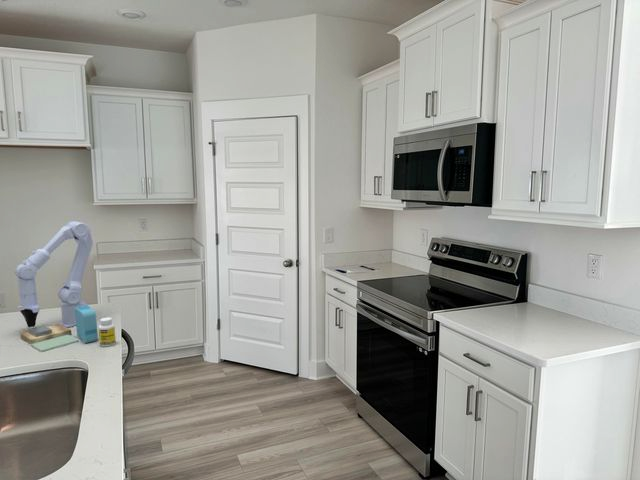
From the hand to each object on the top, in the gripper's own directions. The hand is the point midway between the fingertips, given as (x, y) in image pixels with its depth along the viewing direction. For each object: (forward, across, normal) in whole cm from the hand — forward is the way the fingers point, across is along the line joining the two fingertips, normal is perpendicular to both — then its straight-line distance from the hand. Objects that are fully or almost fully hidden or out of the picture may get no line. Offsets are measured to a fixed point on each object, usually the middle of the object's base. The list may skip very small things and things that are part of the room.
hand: (31, 326), depth 178 cm
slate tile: (+1, +9, 0) cm, 9 cm away
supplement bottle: (+3, +37, +13) cm, 39 cm away
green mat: (+3, +20, +1) cm, 21 cm away
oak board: (+3, +9, +2) cm, 10 cm away
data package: (+3, +25, +11) cm, 27 cm away
